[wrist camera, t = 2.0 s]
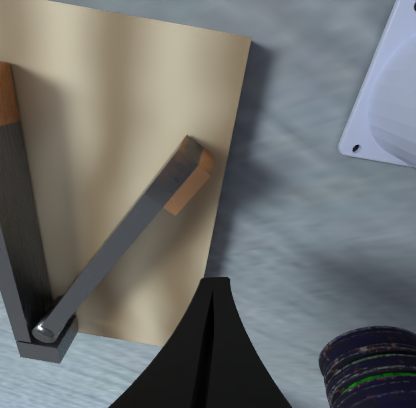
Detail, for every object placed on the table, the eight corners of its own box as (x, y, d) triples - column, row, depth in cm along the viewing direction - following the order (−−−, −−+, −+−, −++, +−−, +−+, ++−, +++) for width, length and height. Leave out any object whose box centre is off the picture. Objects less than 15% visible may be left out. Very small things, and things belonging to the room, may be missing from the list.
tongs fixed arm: (47, 69, 14) (4, 70, 11) (78, 330, 24) (59, 363, 21) (-29, 55, 14) (-90, 54, 11) (34, 323, 24) (10, 355, 21)
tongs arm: (214, 156, 15) (211, 175, 13) (76, 316, 23) (56, 348, 20) (182, 131, 15) (172, 145, 12) (52, 303, 23) (28, 335, 20)
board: (249, 39, 14) (251, 37, 13) (190, 336, 26) (188, 350, 25) (-32, -11, 14) (-59, -19, 13) (38, 310, 26) (28, 324, 24)
